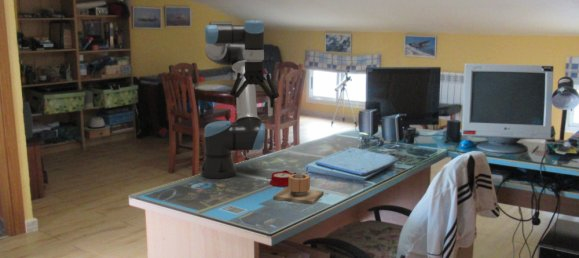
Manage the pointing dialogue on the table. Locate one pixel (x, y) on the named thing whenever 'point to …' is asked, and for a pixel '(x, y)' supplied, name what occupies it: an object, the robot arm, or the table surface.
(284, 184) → the alarm clock
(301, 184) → the ring
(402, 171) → the table surface
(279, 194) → the post board
